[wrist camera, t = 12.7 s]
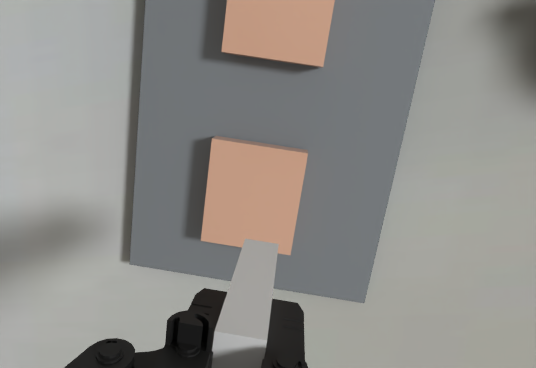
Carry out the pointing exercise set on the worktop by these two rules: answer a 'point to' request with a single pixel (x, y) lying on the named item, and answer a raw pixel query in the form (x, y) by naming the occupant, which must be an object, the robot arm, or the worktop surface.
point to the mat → (275, 136)
